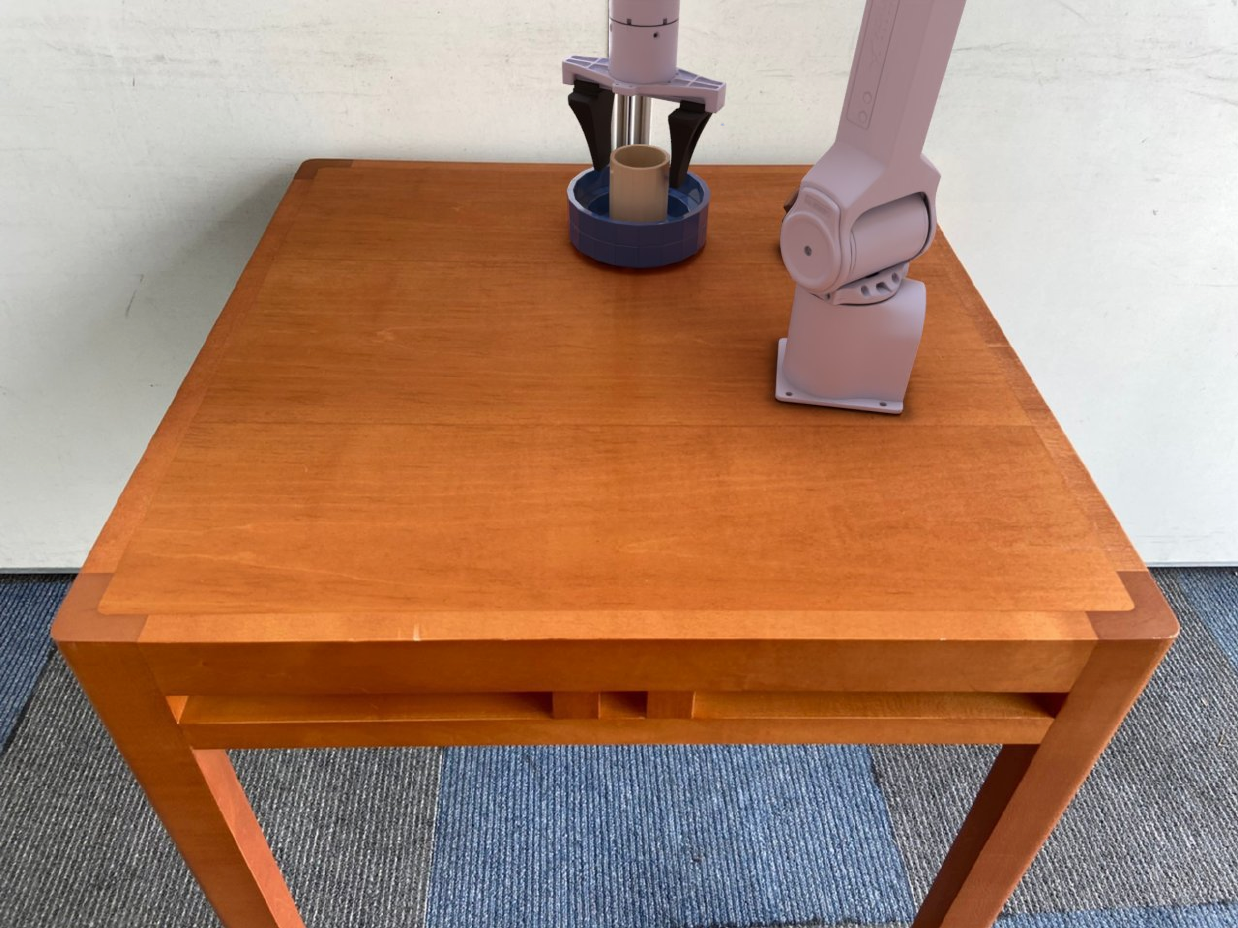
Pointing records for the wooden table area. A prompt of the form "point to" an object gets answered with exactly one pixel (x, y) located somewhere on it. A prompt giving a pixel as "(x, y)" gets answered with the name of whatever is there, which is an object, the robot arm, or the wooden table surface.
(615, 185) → the cup
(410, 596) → the wooden table surface
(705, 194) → the bowl
